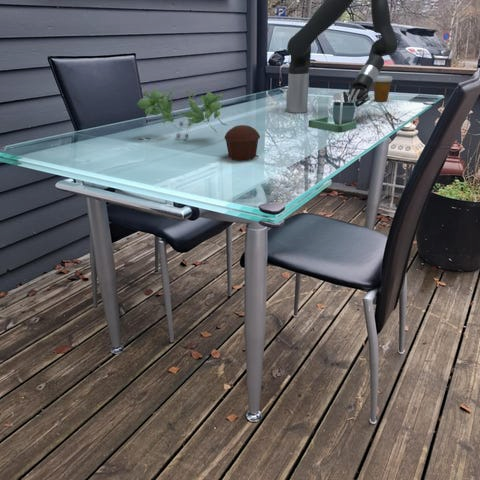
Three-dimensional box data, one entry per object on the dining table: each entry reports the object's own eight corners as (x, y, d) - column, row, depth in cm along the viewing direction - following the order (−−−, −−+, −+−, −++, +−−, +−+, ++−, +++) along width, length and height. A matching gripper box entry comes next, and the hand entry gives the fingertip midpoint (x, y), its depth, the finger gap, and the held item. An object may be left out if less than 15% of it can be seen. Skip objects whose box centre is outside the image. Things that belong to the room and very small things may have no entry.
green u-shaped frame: (308, 126, 189) (309, 89, 182) (324, 122, 195) (326, 86, 188) (339, 132, 178) (342, 93, 171) (356, 128, 184) (359, 90, 178)
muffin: (232, 163, 145) (231, 132, 141) (219, 155, 154) (218, 125, 150) (266, 158, 149) (266, 127, 145) (251, 150, 158) (251, 121, 154)
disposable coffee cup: (392, 100, 238) (395, 75, 232) (387, 103, 231) (389, 78, 225) (374, 99, 242) (376, 75, 237) (368, 101, 235) (370, 77, 230)
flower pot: (353, 128, 183) (355, 105, 179) (331, 128, 184) (332, 105, 180) (353, 124, 191) (354, 101, 187) (331, 123, 192) (332, 101, 188)
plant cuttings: (156, 148, 191) (127, 124, 170) (166, 110, 193) (138, 82, 172) (234, 155, 178) (213, 130, 158) (243, 114, 181) (223, 85, 160)
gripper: (349, 71, 193) (329, 105, 191) (376, 74, 184) (356, 109, 182) (356, 83, 198) (336, 116, 197) (382, 86, 190) (362, 121, 188)
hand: (346, 113), depth 190 cm, fingers closed
